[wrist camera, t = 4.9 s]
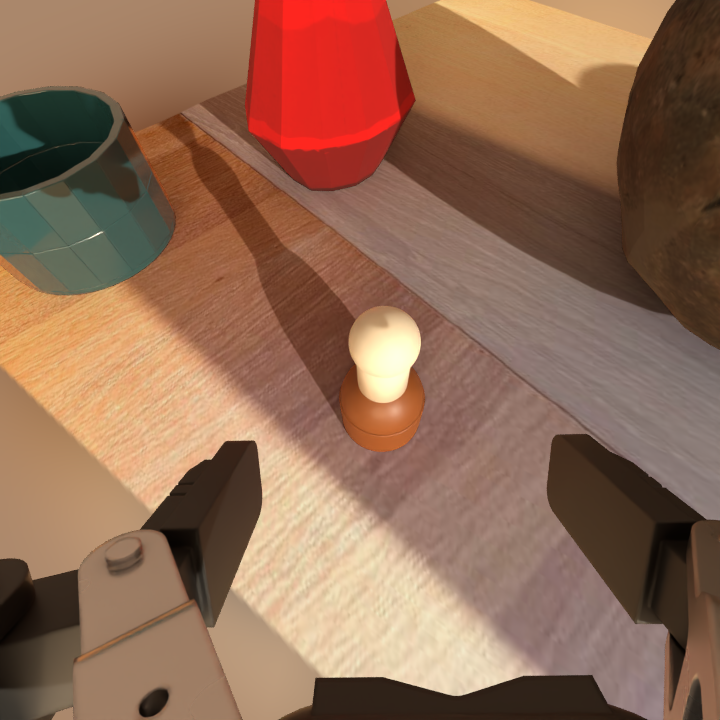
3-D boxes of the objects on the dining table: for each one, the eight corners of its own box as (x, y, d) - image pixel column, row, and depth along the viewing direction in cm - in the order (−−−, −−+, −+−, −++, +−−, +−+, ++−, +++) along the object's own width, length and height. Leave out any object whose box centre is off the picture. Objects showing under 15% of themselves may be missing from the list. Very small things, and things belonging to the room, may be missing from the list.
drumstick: (383, 469, 24) (390, 398, 15) (326, 415, 26) (301, 323, 17) (435, 412, 26) (470, 318, 17) (378, 366, 28) (381, 258, 19)
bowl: (55, 325, 31) (-54, 237, 23) (-13, 237, 36) (-120, 141, 28) (206, 231, 35) (159, 132, 28) (127, 166, 41) (69, 67, 33)
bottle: (294, 231, 35) (218, -111, 18) (240, 156, 41) (142, -155, 24) (436, 173, 39) (487, -160, 21) (367, 111, 45) (363, -187, 27)
